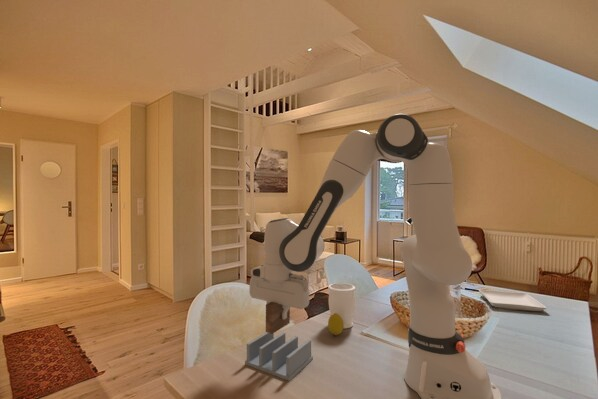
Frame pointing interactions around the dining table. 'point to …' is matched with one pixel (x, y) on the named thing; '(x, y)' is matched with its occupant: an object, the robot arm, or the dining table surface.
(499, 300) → the salad plate
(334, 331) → the lemon
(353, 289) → the jar
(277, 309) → the board
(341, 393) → the dining table surface
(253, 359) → the rack
